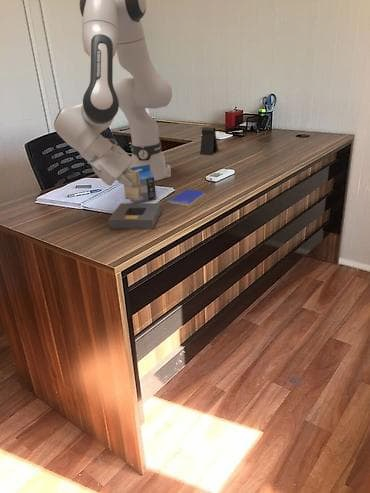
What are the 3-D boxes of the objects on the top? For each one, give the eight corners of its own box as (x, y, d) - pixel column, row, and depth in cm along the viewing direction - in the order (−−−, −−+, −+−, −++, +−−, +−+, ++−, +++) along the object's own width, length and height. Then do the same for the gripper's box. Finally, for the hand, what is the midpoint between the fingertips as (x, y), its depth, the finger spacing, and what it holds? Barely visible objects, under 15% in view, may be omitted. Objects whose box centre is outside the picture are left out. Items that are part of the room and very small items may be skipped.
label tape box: (133, 204, 153) (129, 170, 148) (130, 200, 157) (126, 168, 151) (156, 199, 156) (153, 166, 151) (152, 196, 160) (149, 163, 154)
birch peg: (128, 194, 139) (126, 170, 135) (140, 194, 138) (138, 170, 135) (125, 199, 135) (122, 174, 132) (137, 199, 135) (135, 174, 131)
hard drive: (188, 203, 148) (204, 191, 158) (168, 200, 152) (185, 189, 162) (188, 207, 149) (204, 195, 159) (168, 204, 153) (185, 193, 162)
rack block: (121, 211, 148) (120, 203, 146) (161, 211, 145) (160, 203, 144) (109, 228, 135) (108, 219, 134) (152, 228, 133) (151, 219, 132)
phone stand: (211, 155, 206) (210, 130, 201) (200, 154, 209) (199, 129, 203) (218, 150, 213) (217, 126, 208) (207, 149, 216) (206, 125, 210)
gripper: (94, 154, 121) (131, 187, 124) (115, 137, 139) (147, 167, 142) (81, 169, 124) (118, 201, 127) (103, 151, 142) (135, 180, 145)
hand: (133, 183), depth 135 cm, fingers closed on birch peg, 4 cm apart
